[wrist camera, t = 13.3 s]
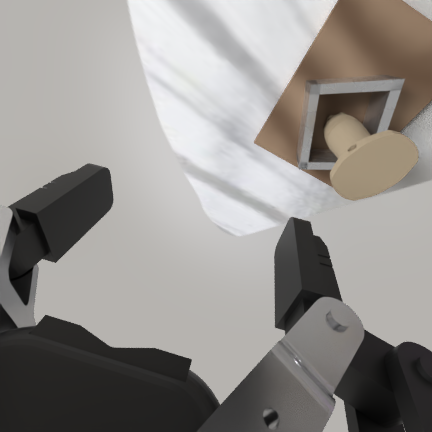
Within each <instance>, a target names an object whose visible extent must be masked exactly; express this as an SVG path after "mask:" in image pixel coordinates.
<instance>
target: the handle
mask: <svg viewBox="0 0 432 432" xmlns="http://www.w3.org/2000/svg"><path fill="white" fill-rule="evenodd" d="M323 132H324V137H325V140H326V143H327V145H328V147H329V148H330V150H331V151H332V152H333V153H334V154H335V156H336V157H337V158H338V160H337V161H336V163H335V164H334V166H333V168H332V170H331V172H330V180H331V183H332V185H333V187H334V189H335V191H336V192H337V193H338V194H339V195H340V196H342V197H344V198H345V199H349V200H353V201H354V200H359V199H363V198H367V197H371V196H374V195H377V194H379V193H381V192H383V191H385V190H386V189H388V188H390V187H391V186H393V185H395V184H396V183H398V182H399V181H400V180H401V179H403V178H404V177H405V176H406V174H407V173H408V172H409V171H410V170H411V169H412V168H413V166H414V165H415V164H416V163H417V162H418V150H417V147H416V145H415V144H414V142H412V141H411V140H410V139H409V138H408V137H406V136H405V135H403V134H401V133H400V132H396V131H392V130H387V131H383V132H380V133H376V134H373V135H370V133H369V132H368V131H367V129H366V128H365V127H364V125H363V124H362V123H361V122H360V121H358V120H357V119H356V118H354V117H352V116H350V115H346V114H345V113H343V112H340V113H339V114H336V115H330V116H328V117H327V121H326V124H325V126H324V127H323Z"/></svg>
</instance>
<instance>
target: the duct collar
mask: <svg viewBox="0 0 432 432" xmlns="http://www.w3.org/2000/svg"><path fill="white" fill-rule="evenodd" d="M404 80H405V79H403V78H398V77H394V76H389V75H375V76H360V77H345V78H331V79H316V80H306V84H305V92H304V99H303V107H302V115H301V123H300V130H299V138H298V146H297V153H296V157H297V162H298V166H299V169H310V170H332V168H333V166H334V164H335V163H336V161H337V160H338V158H337V157H336V156H335V154H334V153H333V152H332V151H331V150H330V149H310V148H311V142H312V136H313V130H314V124H315V118H316V111H317V105H318V99H319V94H337V93H356V92H372V93H371V96H370V100H369V103H368V107H367V110H366V114H365V118H364V121H363V125H364V127H365V128H366V129H367V131H368V132H369V133H370V135H373V134H376V133H380V132H383V131H387V130H388V127H389V124H390V121H391V118H392V115H393V112H394V109H395V107H396V104H397V101H398V98H399V95H400V92H401V89H402V86H403V83H404Z"/></svg>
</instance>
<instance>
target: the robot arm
mask: <svg viewBox="0 0 432 432" xmlns="http://www.w3.org/2000/svg"><path fill="white" fill-rule="evenodd" d="M112 204H113V191H112V183H111V175H110V171H109V169H108V168H105V167H101V166H98V165H94V164H86V165H85V166H83V167H81V168H80V169H78V170H76V171H74V172H71V173H68V174H65V175H61V176H60V177H58V178H56V179H55V180H53V181H51V183H48V184H46V185H44V186H43V188H39V189H37V190H36V191H34V192H32V193H31V194H29V195H27V196H26V197H24V198H22V199H21V200H19V201H17V202H15V203H14V204H12V205H10V206H8V207H6V206H2V205H0V432H322V431H323V429H324V427H325V426H326V423H327V422H328V420H329V418H330V416H331V414H332V412H333V409H334V406H335V399H334V398H333V397H332V396H333V394H335V395H336V396H338V397H339V398H341V399H342V400H344V405H345V411H346V418H347V424H348V431H349V432H405V431H406V432H432V352H431V351H430V350H428V349H426V348H425V347H423V346H421V345H419V344H416V343H413V342H403V343H401V344H400V345H398V346H397V347H394V346H392V345H390V344H388V343H387V342H385V341H383V340H381V339H380V338H378V337H376V336H374V335H373V334H371V333H369V332H368V331H366V330H364V328H363V325H362V323H361V320H360V319H359V317H358V316H357V315H356V313H355V312H354V311H353V310H352V309H351V308H350V307H349V306H348V305H346V304H345V303H343V302H342V298H341V295H340V291H339V288H338V284H337V280H336V277H335V274H334V270H333V268H332V263H331V259H330V256H329V252H328V249H327V246H326V245H325V243H324V242H323V241H322V239H321V238H320V237H318V236H315V235H313V231H312V227H311V223H310V222H309V221H305V220H302V219H298V218H294V217H291V218H290V219H289V221H288V223H287V225H286V227H285V229H284V231H283V233H282V235H281V237H280V239H279V241H278V243H277V246H276V250H275V256H274V259H275V327H276V328H278V329H282V330H285V336H284V337H283V338H282V339H281V341H279V342H278V343H277V344H276V345H275V346H274V347H273V348H272V349H271V350H270V351H269V352H268V353H267V355H266V356H265V357H264V358H263V359H262V360H261V361H260V363H258V364H257V366H256V367H255V368H254V369H253V370H252V371H251V372H250V373H249V374H248V375H247V376H246V378H245V379H244V380H243V381H242V382H241V383H240V384H239V385H238V387H236V389H235V390H234V391H233V392H232V393H231V394H230V395H229V396H228V397H227V398H226V400H225V401H224V402H223V403H222V404H221V405H220V404H219V402H218V400H217V398H216V397H215V395H214V394H213V392H212V390H211V389H210V388H209V387H208V386H207V384H206V383H205V382H204V381H203V380H202V379H201V378H200V377H199V376H197V375H196V374H195V373H193V372H192V371H191V370H189V368H190V365H191V361H192V360H191V359H189V358H185V357H182V356H178V355H175V354H172V353H169V352H166V351H162V350H159V349H156V348H113V347H110V346H108V345H107V344H106V343H104V342H103V341H101V340H100V339H99V338H97V337H96V336H94V335H93V334H92V333H90V332H88V331H87V330H86V329H85V328H83V327H82V326H80V325H77V324H74V323H71V322H67V321H64V320H60V319H57V318H54V317H51V316H48V315H45V316H44V317H43V319H42V320H41V321H40V322H39V323H38V325H36V323H35V319H34V303H35V294H36V287H37V278H38V270H39V268H38V265H37V263H38V262H39V261H40V260H41V259H45V260H48V261H51V262H55V263H56V262H57V261H58V260H59V259H60V258H61V257H62V256H63V255H64V254H65V253H66V252H67V251H68V250H69V249H70V248H71V247H72V246H73V245H74V244H75V243H76V242H78V241H79V240H80V239H81V238H82V237H83V236H84V235H85V234H86V233H87V232H88V231H89V230H90V229H91V228H92V227H93V226H94V225H95V224H96V223H97V222H98V221H99V220H100V219H101V218H102V217H103V216H104V215H105V214H106V213H107V212H108V211H109V210H110V209H111V207H112ZM403 425H404V427H403ZM404 428H405V430H404Z"/></svg>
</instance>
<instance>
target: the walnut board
mask: <svg viewBox="0 0 432 432" xmlns="http://www.w3.org/2000/svg"><path fill="white" fill-rule="evenodd" d="M375 75H389V76H394V77H398V78H403V79H405V80H404V83H403V86H402V89H401V92H400V95H399V98H398V101H397V104H396V107H395V109H394V112H393V115H392V118H391V121H390V124H389V127H388V130H392V131H396V132H400V131H401V130H402V129H403V128H404V127H405V126H406V125H407V124H408V123H409V122H410V121H411V120H412V119H413V118H414V117H415V116H416V115H417V114H418V113H419V112H420V111H421V110H422V109H423V108H424V107H425V106H426V105H427V104H428V103H429V102H430V101H431V100H432V21H431V20H429V19H428V18H426V17H425V16H424V15H422V14H421V13H419V12H418V11H416V10H415V9H414V8H412V7H411V6H409V5H408V4H406V3H405V2H404V1H402V0H338V1H337V3H336V5H335V6H334V8H333V10H332V11H331V13H330V15H329V16H328V18H327V20H326V21H325V23H324V25H323V26H322V28H321V30H320V31H319V33H318V35H317V37H316V38H315V40H314V42H313V43H312V45H311V47H310V48H309V50H308V52H307V53H306V55H305V57H304V58H303V60H302V62H301V63H300V65H299V67H298V68H297V70H296V72H295V73H294V75H293V77H292V79H291V80H290V82H289V84H288V85H287V87H286V89H285V90H284V92H283V94H282V95H281V97H280V99H279V100H278V102H277V104H276V105H275V107H274V109H273V110H272V112H271V114H270V115H269V117H268V119H267V121H266V122H265V124H264V126H263V127H262V129H261V131H260V132H259V134H258V136H257V137H256V139H255V141H254V143H255V144H257V145H259V146H260V147H262V148H264V149H266V150H267V151H269V152H271V153H273V154H275V155H276V156H278V157H280V158H282V159H283V160H285V161H287V162H289V163H291V164H292V165H294V166H296V167H298V168H299V166H298V162H297V157H296V153H297V146H298V138H299V130H300V123H301V115H302V107H303V99H304V92H305V84H306V80H316V79H331V78H345V77H360V76H375ZM371 93H372V92H356V93H337V94H319V99H318V105H317V111H316V118H315V124H314V130H313V136H312V142H311V148H310V149H330V148H329V147H328V145H327V143H326V140H325V137H324V132H323V127H324V126H325V124H326V121H327V117H328V116H330V115H336V114H339V113H340V112H343V113H345V114H346V115H350V116H352V117H354V118H356V119H357V120H358V121H360V122H361V123H362V124H363V121H364V118H365V114H366V110H367V107H368V103H369V100H370V96H371ZM301 170H303V171H305V172H307V173H308V174H310V175H312V176H314V177H315V178H317V179H319V180H321V181H323V182H324V183H326V184H328V185H330V186H331V187H333V185H332V183H331V180H330V172H331V170H310V169H301ZM333 188H334V187H333Z"/></svg>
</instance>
